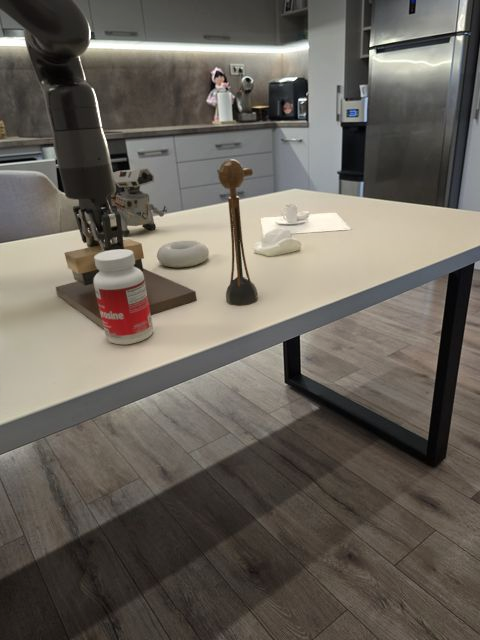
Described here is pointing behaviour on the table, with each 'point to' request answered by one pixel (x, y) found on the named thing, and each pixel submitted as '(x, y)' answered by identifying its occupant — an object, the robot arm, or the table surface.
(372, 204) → the table surface
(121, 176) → the figurine
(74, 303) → the board
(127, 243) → the brush
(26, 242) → the table surface
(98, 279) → the pill bottle
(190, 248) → the donut
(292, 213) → the teacup and saucer
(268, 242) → the white lumpy piece
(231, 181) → the wooden tabletop sculpture
